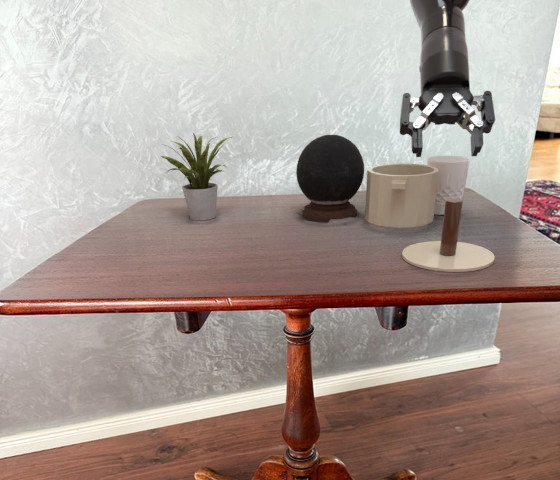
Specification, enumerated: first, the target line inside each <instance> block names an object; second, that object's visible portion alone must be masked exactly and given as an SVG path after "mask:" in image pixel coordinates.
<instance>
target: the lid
mask: <svg viewBox="0 0 560 480" xmlns="http://www.w3.org/2000/svg"><path fill="white" fill-rule="evenodd" d="M463 203H464V202H463V199H462V200H461V199H447V200H446V202H445V211H444V215H443V220H442V227H441V238H440V240H432V241H431V240H430V241H423V242H417V243H413V244H410V245H407V246H406V247H404V249H402V251H401V257H402V259H403V261H405V262H406V263H408V264H410V265H412V266H414V267H417V268H419V269H424V270H428V271H435V272H443V273H444V272H445V273H466V272H467V273H468V272H474V271H475V272H476V271H479V270H484V269H486V268H489V267H491V266H492V265H493V264H494V262H495V260H496V259H495V258H496V257H495V254H494V253H493V252H492V251H491V250H489V249H487V248H485V247H484V246H480V245H477V244H473V243H468V242H463V241H459V233H460V226H461V219H462V212H463V211H462V210H463Z"/></svg>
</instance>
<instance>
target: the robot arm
mask: <svg viewBox="0 0 560 480" xmlns="http://www.w3.org/2000/svg"><path fill="white" fill-rule="evenodd" d="M470 1H471V0H409V4H410V7H411V10H412V13H413V16H414V19H415V20H416V23H417V27H418V28H419V31H420V56H419V74H420V76H419V77H420V78H419V79H420V96H418V97H417V96H416V97H415V96H411V94H410V92H404V93H403V95H402V99H401V103H400V104H401V105H400V115H399V116H400V117H399V118H400V119H399V134H400V135H401V136H405V135H408V136H410V137H411V139H410V140H411V152H412V154H415V157H416V158H422V154H423V149H424V145H423V142H424V141H423V132H424V131H426V130H427V129H428V128H429V127H430V125H431V124H434V125H435V126H441V125H455V124H457V125H458V126H459V127H460V128H461V129H462V130H466V131H467V132H468V133H469V134H470V138H469V139H470V154H471V157H477V156H478V154H479V153H481V150H482V149H483V146H484V134H490V133H491V131H492V129H493V126H494V124H495V121H496V114H495V108H494V107H495V106H494V101H493V94H492V92H491V91H490V90H485V91H483V94H482V95H481V94H479V95H474V94H473V93H472V92H471V89H470V87H471V86H470V85H471V84H470V66H469V50H468V45H467V39H466V23H465V16H464V13H463V11H464V10H465V9H466V7H467V6H468V5H469V3H470ZM472 106H475V107H476V110H477V112H478V113H480V117H479V116H478V115H477V114H476V110H475V109H474V108H473V107H472ZM416 107H418V110H419V111H420V112H421V113H420V115H419V116H418V118H416V119H415V121H414V122H413V121H410V116H411V115H410V114H411V113H412V112H414V110H415V108H416Z"/></svg>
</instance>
